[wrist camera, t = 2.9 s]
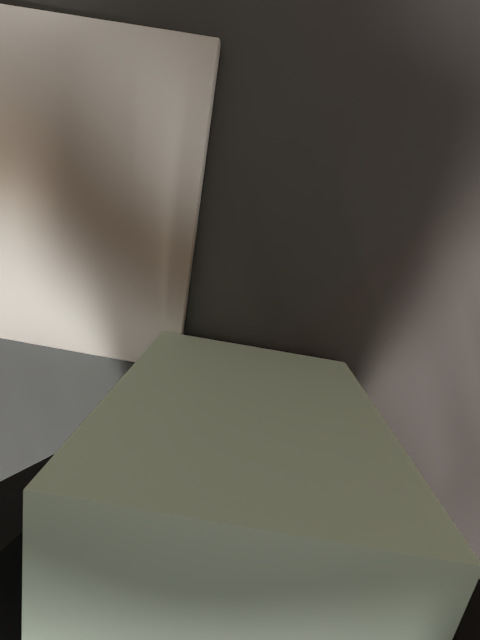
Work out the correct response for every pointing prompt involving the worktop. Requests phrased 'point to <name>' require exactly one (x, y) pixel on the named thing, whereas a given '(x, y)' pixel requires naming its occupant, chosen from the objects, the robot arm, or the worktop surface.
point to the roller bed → (99, 178)
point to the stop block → (238, 511)
